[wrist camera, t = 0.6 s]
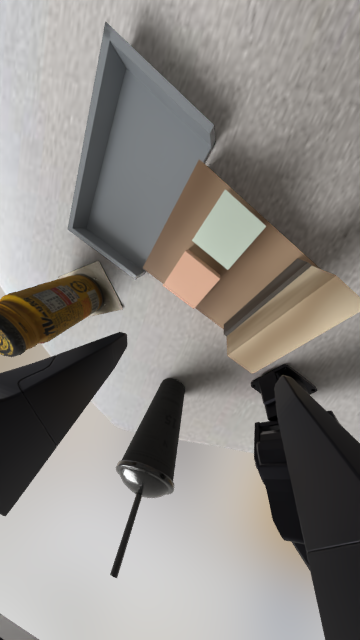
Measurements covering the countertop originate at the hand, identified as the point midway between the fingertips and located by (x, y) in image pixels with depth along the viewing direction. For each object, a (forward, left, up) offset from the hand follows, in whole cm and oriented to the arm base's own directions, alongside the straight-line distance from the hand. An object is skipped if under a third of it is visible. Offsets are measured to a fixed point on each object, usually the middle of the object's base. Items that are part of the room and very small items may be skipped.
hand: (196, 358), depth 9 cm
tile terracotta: (+3, -1, -9) cm, 10 cm away
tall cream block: (-5, -3, -9) cm, 11 cm away
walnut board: (0, -3, -12) cm, 13 cm away
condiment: (+14, +12, -13) cm, 22 cm away
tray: (+13, -3, -12) cm, 18 cm away
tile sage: (+3, -6, -9) cm, 11 cm away
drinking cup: (-7, +20, -13) cm, 25 cm away
